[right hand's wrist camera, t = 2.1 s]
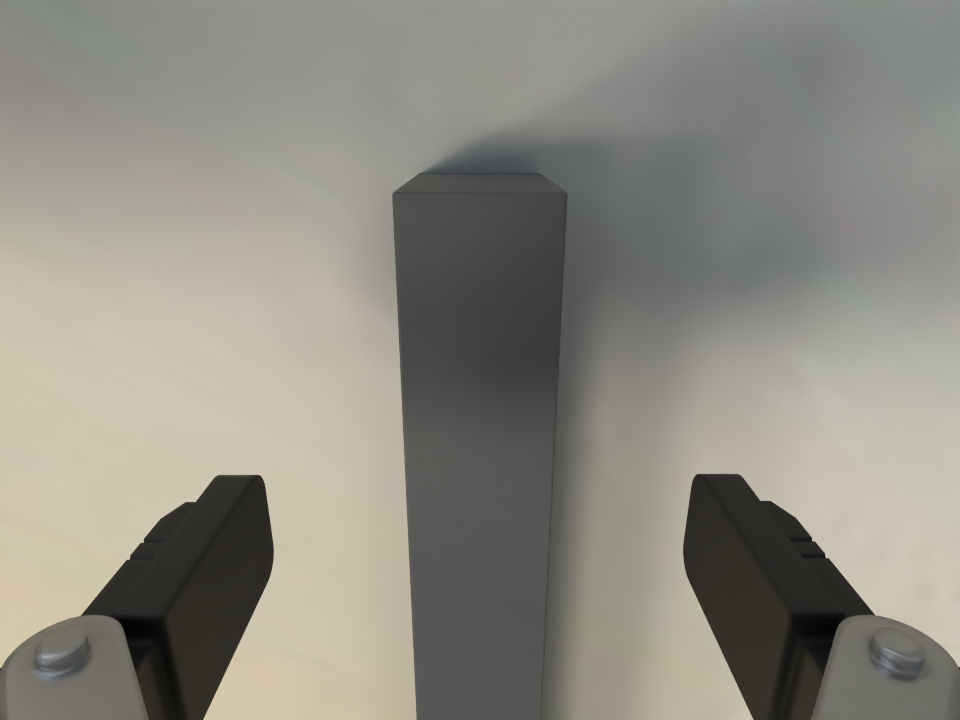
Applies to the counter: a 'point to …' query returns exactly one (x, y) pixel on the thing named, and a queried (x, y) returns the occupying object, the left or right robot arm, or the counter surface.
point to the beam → (479, 432)
